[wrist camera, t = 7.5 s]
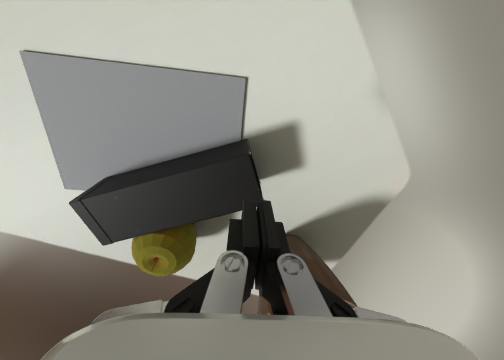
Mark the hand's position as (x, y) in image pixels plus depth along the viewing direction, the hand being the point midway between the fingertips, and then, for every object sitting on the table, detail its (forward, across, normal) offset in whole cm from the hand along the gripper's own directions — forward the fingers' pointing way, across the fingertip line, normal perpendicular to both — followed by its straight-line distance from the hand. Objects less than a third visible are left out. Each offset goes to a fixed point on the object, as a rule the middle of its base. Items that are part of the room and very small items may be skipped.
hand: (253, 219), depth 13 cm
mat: (+21, +16, +2) cm, 26 cm away
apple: (+21, +12, +18) cm, 30 cm away
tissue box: (+17, -2, +4) cm, 17 cm away
